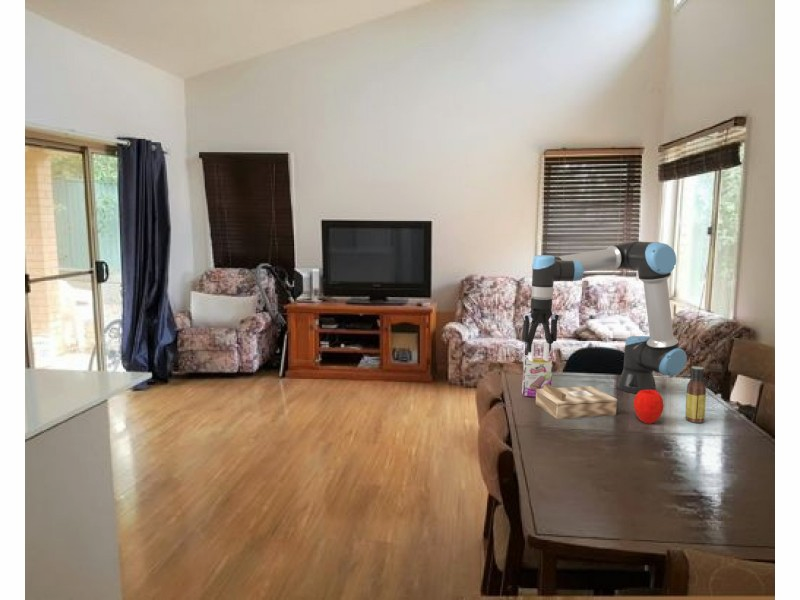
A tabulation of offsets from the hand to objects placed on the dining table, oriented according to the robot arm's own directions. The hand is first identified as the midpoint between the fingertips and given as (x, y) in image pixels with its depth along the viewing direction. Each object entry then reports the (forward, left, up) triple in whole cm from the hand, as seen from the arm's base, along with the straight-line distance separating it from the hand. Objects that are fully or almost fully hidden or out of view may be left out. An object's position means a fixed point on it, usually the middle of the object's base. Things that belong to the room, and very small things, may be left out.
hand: (538, 360), depth 212 cm
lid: (-16, 0, -14) cm, 22 cm away
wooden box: (-16, 0, -20) cm, 26 cm away
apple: (-35, +17, -20) cm, 44 cm away
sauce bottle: (-53, +19, -20) cm, 60 cm away
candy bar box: (-9, -18, -20) cm, 29 cm away
